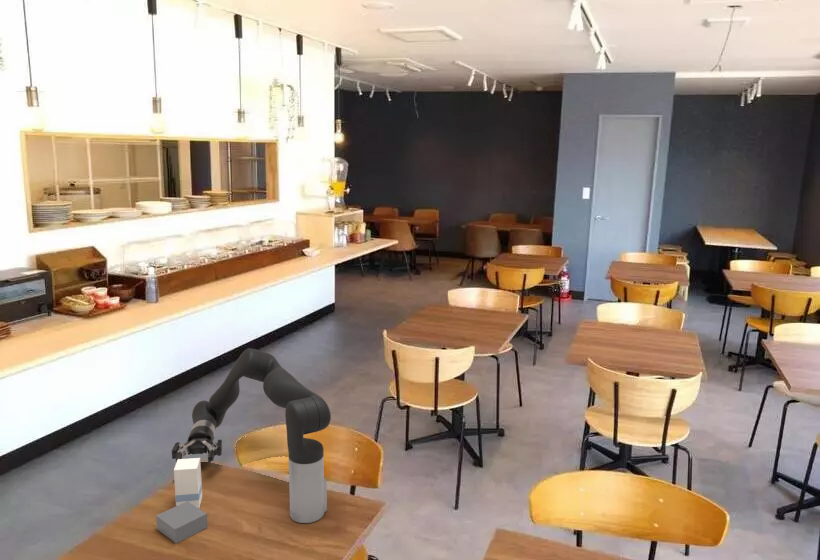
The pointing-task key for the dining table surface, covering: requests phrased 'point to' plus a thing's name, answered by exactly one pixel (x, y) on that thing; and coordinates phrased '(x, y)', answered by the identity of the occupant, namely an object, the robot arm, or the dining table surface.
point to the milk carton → (188, 481)
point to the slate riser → (181, 522)
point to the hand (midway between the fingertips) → (194, 460)
